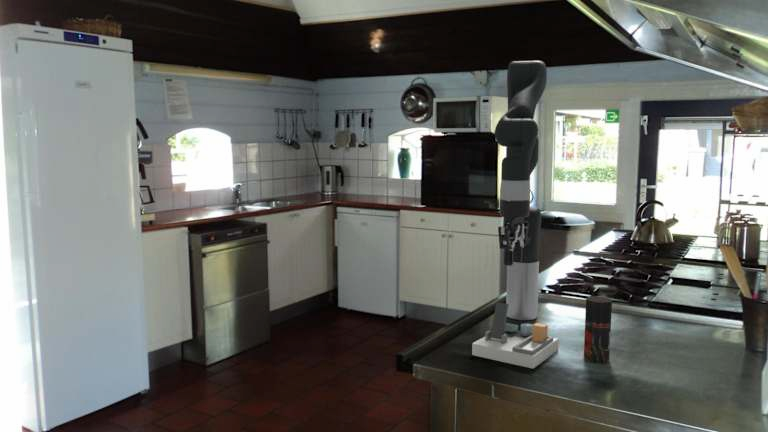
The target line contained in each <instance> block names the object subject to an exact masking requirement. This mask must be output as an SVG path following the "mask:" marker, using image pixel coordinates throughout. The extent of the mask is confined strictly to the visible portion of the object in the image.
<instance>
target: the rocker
mask: <svg viewBox="0 0 768 432" xmlns="http://www.w3.org/2000/svg"><path fill="white" fill-rule="evenodd" d="M504 331H509V332H515V331H519V324H515V323H509V322H506V324H505V330H504Z"/></svg>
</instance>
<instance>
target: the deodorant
mask: <svg viewBox="0 0 768 432" xmlns="http://www.w3.org/2000/svg"><path fill="white" fill-rule="evenodd" d="M612 306H613V300H612V299H611V298H609V297H605V296H598V295H591V296H588V297H586V298H585V318H584V319H585V321H584V338H583V339H584V341H583V342H584V343H583V346H584V347H583V359H584V361H586V362H587V363H591V364H597V365H600V364H601V365H602V364H607V363H609V362H610V351H611V332H612V329H611V328H612V312H613V307H612Z"/></svg>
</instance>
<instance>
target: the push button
mask: <svg viewBox="0 0 768 432" xmlns="http://www.w3.org/2000/svg"><path fill="white" fill-rule="evenodd" d="M532 326H533V324H532V323H527V322H526V323H525V322H524V323H521V324H520V330H519V331H520V334H521V335H523V336H531V335H532Z"/></svg>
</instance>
